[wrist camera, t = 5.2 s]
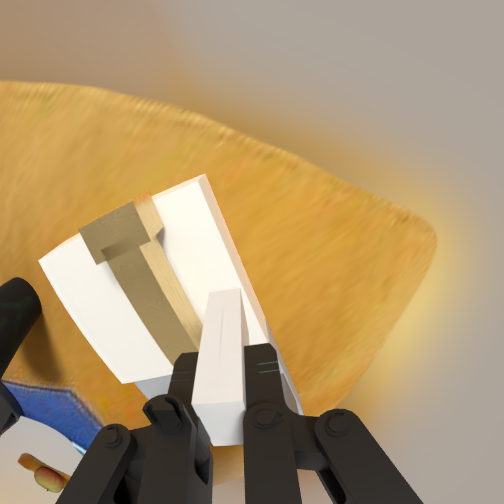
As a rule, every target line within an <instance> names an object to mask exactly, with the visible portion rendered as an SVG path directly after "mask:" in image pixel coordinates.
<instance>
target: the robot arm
mask: <svg viewBox="0 0 504 504" xmlns="http://www.w3.org/2000/svg"><path fill="white" fill-rule="evenodd" d="M172 372H173V374H172V376H171V382H170V384H169V389H168V393H167V394H162V395H157V396H155V397H153V398H151V399H150V400H149V401H148V402H147V403H145V405H144V407H143V409H142V410H143V412H144V413H145V415H146V416H147V418H148V419H149V420H150V422H151V423H152V424H151V425H149V426H146V427H143V428H138V429H134V430H128V429H127V428H126V427H125V426H123V425H121V424H110V425H107V426H105V427H104V428H102V429H101V430H100V431H99V432H98V434H97V435H96V437H95V439H94V440H93V442H92V443H91V445H90V447H89V448H88V450H87V452H86V453H85V455H84V456H83V458H82V460H81V461H80V463H79V465H78V466H77V468H76V470H75V471H74V473H73V475H72V476H71V478H70V480H69V481H68V483H67V485H66V486H65V488H64V490H63V492H62V493H61V495H60V497H59V498H58V500H57V502H56V503H55V504H212V481H213V457H212V454H211V452H210V441H211V442H212V444H213V446H229V445H243V447H244V477H245V503H246V504H302V500H301V493H300V487H299V481H298V475H297V469H305V470H314V471H315V472H316V473H317V475H318V477H319V479H320V481H321V482H322V484H323V486H324V488H325V490H326V491H327V493H328V495H329V497H330V498H331V500H332V502H333V504H423V502H422V501H421V500H420V498H419V497H418V496H417V494H416V493H415V492H414V491H413V490H412V488H411V487H410V485H409V484H408V483H407V482H406V480H405V479H404V477H403V476H402V475H401V473H400V472H399V471H398V470H397V468H396V467H395V466H394V464H393V463H392V462H391V460H390V459H389V458H388V456H387V455H386V454H385V452H384V451H383V450H382V448H381V447H380V446H379V444H378V443H377V442H376V440H375V439H374V438H373V436H372V435H371V433H370V432H369V431H368V429H367V428H366V427H365V425H364V424H363V423H362V421H361V420H360V419H359V418H358V416H356V415H355V414H354V413H353V412H352V411H349V410H346V409H333V410H329V411H327V412H325V413H323V414H322V415H320V417H313V416H304V415H299V414H297V413H295V412H293V411H292V410H290V409H289V407H288V406H287V405H286V402H285V399H284V393H283V387H282V381H281V375H280V370H279V363H278V358H277V352H276V350H275V348H274V347H273V346H272V345H271V344H270V343H263V344H256V345H249V331H248V326H247V321H246V316H245V310H244V305H243V300H242V294H241V289H240V288H236V289H229V290H222V291H214V292H209V294H208V300H207V306H206V312H205V318H204V324H203V330H202V336H201V342H200V349H199V352H188V353H181V354H180V356H179V357H178V358H177V360H176V361H175V363H174V367H173V371H172ZM21 414H22V411H21V408H20V406H19V404H18V403H17V401H16V400H15V398H14V397H13V396H12V394H11V393H10V392H9V391H8V390H7V388H6V387H5V386H4V385H3V384H2V383H1V382H0V436H1V435H2V434H3V433H4V432H5V431H6V430H8V429H9V428H10V427H11V426H13V425H14V424H15V423H16V422H17V421H18V420H19V418H20V416H21Z"/></svg>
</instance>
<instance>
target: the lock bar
mask: <svg viewBox="0 0 504 504" xmlns="http://www.w3.org/2000/svg"><path fill="white" fill-rule="evenodd" d="M163 226H164V224H163V222H162V220H161V217H160V215H159V213H158V211H157V209H156V206H155V204H154V202H153V200H152V197H151V195H150V193H149V191H147V192H145V193H143V194H141V195H139V196H137V197H135V198H133V199H131V200H129V201H127V202H125V203H123V204H121V205H119V206H117V207H115V208H113V209H111V210H109V211H107V212H105V213H103V214H102V215H100V216H98V217H96V218H95V219H93V220H92V221H90V222H89V223H87V224H86V225H84V226H82V227H81V228H79V229H78V230H79V232H80V234H81V236H82V238H83V240H84V242H85V244H86V246H87V248H88V250H89V252H90V254H91V256H92V258H93V260H94V262H95V263H96V265H98V264H100V263H103V262H105V261H107V263H108V265H109V267H110V269H111V270H112V272H113V274H114V276H115V278H116V279H117V281H118V283H119V285H120V286H121V288H122V290H123V292H124V293H125V295H126V297H127V298H128V300H129V302H130V303H131V305H132V307H133V308H134V310H135V311H136V313H137V315H138V316H139V318H140V319H141V321H142V322H143V324H144V325H145V327H146V329H147V330H148V332H149V333H150V335H151V336H152V338H153V339H154V340H155V342H156V343H157V345H158V346H159V348H160V349H161V351H162V352H163V353H164V355H165V356H166V358H167V359H168V360H169V362H170V363H171V364H172V366H173V367H174V363H175V361H176V360H177V358H178V357H179V356H180V354H181V353H188V352H199V349H200V342H201V336H202V330H203V324H202V322H201V321H200V319H199V317H198V315H197V314H196V312H195V310H194V308H193V306H192V305H191V303H190V301H189V299H188V297H187V295H186V293H185V292H184V290H183V288H182V286H181V284H180V282H179V280H178V278H177V276H176V275H175V273H174V271H173V269H172V267H171V265H170V263H169V261H168V259H167V257H166V255H165V253H164V251H163V249H162V247H161V245H160V243H159V240H158V238H157V236H156V235H157V233H158V232H159V231H160V230H161V228H162V227H163Z"/></svg>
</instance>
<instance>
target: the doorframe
mask: <svg viewBox="0 0 504 504" xmlns="http://www.w3.org/2000/svg"><path fill="white" fill-rule="evenodd" d="M152 200H153V202H154V204H155V206H156V209H157V211H158V213H159V215H160V217H161V220H162V222H163V224H164V226H163V227H162V228H161V230H160V231H159V232H158V233H157V235H156V236H157V238H158V240H159V243H160V245H161V247H162V249H163V251H164V253H165V255H166V257H167V259H168V261H169V263H170V265H171V267H172V269H173V271H174V273H175V275H176V276H177V278H178V280H179V282H180V284H181V286H182V288H183V290H184V292H185V293H186V295H187V297H188V299H189V301H190V303H191V305H192V306H193V308H194V310H195V312H196V314H197V315H198V317H199V319H200V321H201V322H202V324H204V318H205V312H206V306H207V300H208V294H209V292H214V291H222V290H229V289H236V288H240V289H241V294H242V300H243V305H244V310H245V316H246V321H247V326H248V331H249V345H256V344H263V343H270V344H271V345H272V346H273V347H274V348H275V350H276V352H277V358H278V363H279V370H280V375H281V381H282V387H283V393H284V399H285V402H286V405H287V406H288V407H289V409H290V410H292V411H293V412H295V413H297V414H299V415H304V414H303V409H302V405H301V401H300V397H299V394H298V392H297V390H296V388H295V385H294V383H293V381H292V378H291V376H290V374H289V372H288V369H287V367H286V365H285V362H284V360H283V358H282V355H281V353H280V351H279V349H278V346H277V344H276V342H275V339H274V337H273V335H272V332H271V330H270V328H269V325H268V323H267V321H265V316H264V314H263V311H262V309H261V307H260V304H259V302H258V300H257V297H256V295H255V292H254V290H253V288H252V285H251V283H250V281H249V278H248V276H247V273H246V271H245V269H244V266H243V264H242V262H241V259H240V257H239V254H238V252H237V250H236V247H235V245H234V242H233V240H232V238H231V235H230V233H229V230H228V228H227V225H226V223H225V221H224V218H223V216H222V213H221V211H220V208H219V206H218V204H217V201H216V199H215V196H214V194H213V191H212V189H211V186H210V184H209V181H208V179H207V177H206V174H203V175H200V176H198V177H195V178H193V179H190V180H188V181H186V182H183V183H181V184H179V185H176V186H174V187H172V188H170V189H167V190H165V191H163V192H161V193H158V194H156V195H154V196H152ZM39 263H40V265H41V267H42V268H43V270H44V272H45V274H46V276H47V278H48V279H49V281H50V283H51V285H52V286H53V288H54V290H55V292H56V293H57V295H58V297H59V298H60V300H61V301H62V303H63V305H64V306H65V308H66V309H67V311H68V312H69V314H70V316H71V317H72V319H73V320H74V322H75V323H76V324H77V326H78V327H79V329H80V330H81V332H82V333H83V335H84V336H85V337H86V339H87V340H88V341H89V343H90V344H91V346H92V347H93V348H94V350H95V351H96V352H97V353H98V355H99V356H100V357H101V359H102V360H103V361H104V362H105V364H106V365H107V366H108V367H109V369H110V370H111V371H112V372H113V373H114V375H115V376H116V377H117V378H118V379H119V381H120V382H121V383H122V384H124V383H130V382H134V383H135V385H136V386H137V387H138V388H139V389H140V390H141V391H142V393H143V394H144V395H145V396H146V397H147V398H148V399H149V400H150V399H151V398H153V397H155V396H157V395H162V394H167V393H168V389H169V384H170V382H171V376H172V374H173V372H172V371H173V366H172V364H171V363H170V362H169V360H168V359H167V358H166V356H165V355H164V353H163V352H162V351H161V349H160V348H159V346H158V345H157V343H156V342H155V340H154V339H153V338H152V336H151V335H150V333H149V332H148V330H147V329H146V327H145V325H144V324H143V322H142V321H141V319H140V318H139V316H138V315H137V313H136V311H135V310H134V308H133V307H132V305H131V303H130V302H129V300H128V298H127V297H126V295H125V293H124V292H123V290H122V288H121V286H120V285H119V283H118V281H117V279H116V278H115V276H114V274H113V272H112V270H111V269H110V267H109V265H108V263H107V261H105V262H103V263H100V264H98V265H96V263H95V262H94V260H93V258H92V256H91V254H90V252H89V250H88V248H87V246H86V244H85V242H84V240H83V238H82V236H81V234H80V233H79V234H77V235H75V236H73V237H71V238H70V239H68V240H66V241H64V242H63V243H62V244H60V245H59V246H57V247H56V248H55V249H53V250H52V251H51V252H49V253H48V254H47V255H45V256H44V257H43V258H41V259H40V260H39Z"/></svg>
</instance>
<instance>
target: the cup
mask: <svg viewBox="0 0 504 504" xmlns="http://www.w3.org/2000/svg"><path fill="white" fill-rule="evenodd" d="M40 313H41V304H40V300H39V297H38V295H37V294H36V292H35V290H34V289H33V287H32V286H31V285H30V284H29V283H28V282H27V281H25V280H24V279H22V278H18V277H16V278H13V279H11V280H10V281H8V282H6V283H5V284H3V285H2V286H0V380H1V378H2V376H3V374H4V372H5V370H6V369H7V367H8V365H9V363H10V362H11V360H12V358H13V356H14V355H15V353H16V351H17V350H18V348H19V346H20V345H21V343H22V341H23V340H24V338H25V337H26V335H27V334H28V332H29V330H30V329H31V327H32V326H33V324H34V323H35V321H36V320H37V318H38V317H39V315H40Z"/></svg>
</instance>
